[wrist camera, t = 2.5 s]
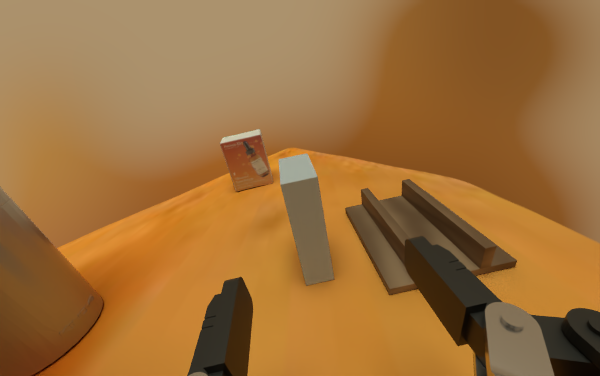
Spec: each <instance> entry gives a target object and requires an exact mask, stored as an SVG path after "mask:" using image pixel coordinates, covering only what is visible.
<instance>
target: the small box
mask: <svg viewBox="0 0 600 376" xmlns="http://www.w3.org/2000/svg"><path fill="white" fill-rule="evenodd" d="M220 146H221V149H222V152H223V155H224V157H225V161H226V164H227V167H228V169H229V172H230V175H231V178H232V181H233V184H234V187H235V190H236V192H237V191H241V190H244V189H249V188H253V187H257V186H262V185H267V184H272V183H273V179H272V174H271V170H270V166H269V162H268V158H267V154H266V150H265V146H264V142H263V139H262V135H261V131H260V129H258V130H255V131H250V132H246V133H242V134H238V135H233V136H228V137H223V139H222V141H221V143H220Z"/></svg>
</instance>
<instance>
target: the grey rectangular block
mask: <svg viewBox="0 0 600 376" xmlns="http://www.w3.org/2000/svg"><path fill="white" fill-rule="evenodd" d="M279 169H280V183H281V188H282V192H283V196H284V200H285V204H286V208H287V212H288V216H289V220H290V224H291V228H292V232H293V235H294V239H295V243H296V247H297V251H298V255H299V259H300V263H301V267H302V271H303V275H304V279H305V283H306V286H307V285H311V284H316V283H320V282H325V281H329V280H334V274H333V268H332V262H331V256H330V250H329V244H328V238H327V232H326V225H325V219H324V213H323V207H322V201H321V195H320V189H319V183H318V177H317V174H316V172H315V170H314V168H313V165H312V163H311V161H310V159H309V156H308V154H307V153H306V154H302V155H297V156H293V157H288V158H283V159H279Z"/></svg>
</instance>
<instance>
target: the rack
mask: <svg viewBox="0 0 600 376" xmlns="http://www.w3.org/2000/svg"><path fill="white" fill-rule="evenodd" d="M361 197H362V204H361V205H357V206H352V207H348V208H345V210H346V214H347V216H348V218H349V219H350V221H351V223H352V225H353V227H354V229H355V231H356V233H357V234H358V236H359V238H360V240H361V242H362V244H363V246H364V248H365V249H366V251H367V253H368V255H369V257H370V259H371V261H372V263H373V264H374V266H375V268H376V270H377V272H378V274H379V276H380V278H381V279H382V281H383V283H384V285H385V287H386V289H387V291H388V293H389V295H391V294H396V293H400V292H405V291H409V290H414V289H418V288H417V286H416V285H415V283H414V282H413V280H412V279H411V277H410V276H409V274H408V272H407V270H406V267H405V263H404V257H405V240H406V239H410V238H414V237H419V236H423V237H425V238H426V239H427V240H428V241H429V242H430V243H431V244H432V245H436V244H438V245H440V246H442V247H443V248H445V249H447V250H449V251H450V252H451V253H452V254H453V255H454V256H455V257H456V258H457V259H458V260H459V262H461V263H463V264H464V265H465V266H466V268H467V269H469V270H470V271H471V272H472V273H473V274H474V275H475V276H476V275H480V274H485V273H489V272H494V271H498V270H503V269H507V268H512V267H515V265H516V262H517V260H516V259H514V258H513V257H512V256H510V255H509V254H508V253H506V252H505V251H504V250H502V249H501V248H500V247H499V246H497V245H496V244H495V243H493V242H492V241H491V240H489V239H488V238H487V237H485V236H484V235H483V234H481V233H480V232H479V231H477V230H476V229H475V228H473V227H472V226H471V225H470V224H468V223H467V222H466V221H464V220H463V219H462V218H460V217H459V216H458V215H456V214H455V213H454V212H452V211H451V210H450V209H448V208H447V207H446V206H444V205H443V204H442V203H441V202H439V201H438V200H437V199H435V198H434V197H433V196H431V195H430V194H429V193H427V192H426V191H424V190H423V189H421V188H420V187H419V186H417V185H416V184H415V183H413V182H412V181H411V180H410V179H407V180H403V181H402V196H398V197H393V198H389V199H384V200H380V201H378V200H377V198H376V197H375V196H374V195H373V194H372V192H371V191H370V190H369V189H368V188H366V189H362V190H361Z"/></svg>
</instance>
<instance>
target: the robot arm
mask: <svg viewBox="0 0 600 376" xmlns="http://www.w3.org/2000/svg"><path fill="white" fill-rule="evenodd" d="M404 263H405V267H406V270H407V272H408V274H409V276H410V277H411V279H412V280H413V282H414V283H415V285H416V286H417V288H418V289H419V290H420V292H421V293H422V295H423V296H424V298H425V299H426V301H427V302H428V304H429V305H430V306H431V308H432V309H433V311H434V312H435V314H436V315H437V317H438V318H439V319H440V321H441V322H442V324H443V325H444V327H445V328H446V330H447V331H448V332H449V334H450V335H451V337H452V338H453V340H454V341H455V343H456V344H457V345H458V346H460V345H465V344H469V346H470V347H471V348H472V350H473V351H474V352H473V365H474V376H600V312H598V311H594V310H590V309H585V308H575V309H572V310H570V311H569V312H568V313H567V315H566V317H565V318H559V317H547V316H536V315H530V314H528V313H527V312H526V311H524V310H522V309H521V308H519V307H517V306H514V305H512V304H508V303H504V302H502V301H501V300H500V299H498V298H497V297H496V296H495V295H494V294H493V293H492V292H491V291H490V290H489V289H488V288H487V287H486V286H485V285H484V284H483V283H482V282H481V281H480V280H479V279H478V278H477V277H476V276H475V275H474V274H473V273H472V272H471V271H470V270H469V269H467V268H466V266H465V265H464V264H463V263H461V262H459V260H458V259H457V258H456V257H455V256H454V255H453V254H452V253H451V252H450V251H449V250H447V249H445V248H443V247H442V246H440V245H438V244H436V245H432V244H431V243H430V242H429V241H428V240H427V239H426V238H425V237H423V236H419V237H414V238H410V239H406V240H405V257H404ZM102 307H103V300H102V298H101V296H100V295H99V294H98V293H97V292H96V291H95V290H94V289H93V288H92V287H91V286H90V284H89V283H88V282H87V281H86V280H85V279H84V278H83V277H82V275H81V274H80V273H79V272H78V271H77V270H76V269H75V268H74V267H73V266H72V264H71V263H70V262H69V261H68V260H67V259H66V258H65V257H64V256H63V255H62V254H61V252H60V251H59V250H58V249H57V248H56V247H55V246H54V245H53V244H52V243H51V242H50V241H49V239H48V238H47V237H46V236H45V235H44V234H43V233H42V232H41V231H40V230H39V228H38V227H37V226H36V225H35V224H34V223H33V222H32V221H31V220H30V219H29V218H28V216H26V214H25V213H24V212H23V211H22V210H21V209H20V208H19V207H18V206H17V205H16V203H15V202H14V201H13V200H12V199H11V198H9V196H8V195H7V194H6V193H5V192H4V191H3V189H2V188H1V187H0V376H31V375H33V374H35V373H37V372H39V371H40V370H42V369H43V368H45V367H47V366H48V365H50V364H51V363H53V362H54V361H55V360H57V359H58V358H59V357H61V356H62V355H63V354H65V353H66V352H67V351H68V350H69V349H70V348H71V347H73V346H74V345H75V344H76V343H77V342H78V341H79V340H80V339H81V338H82V337H83V336H84V335H85V334H86V333H87V332H88V330H89V329H90V328H91V327H92V325H93V324H94V323H95V321H96V320H97V318H98V316H99V315H100V312H101V310H102ZM252 316H253V303H252V299H251V296H250V294H249V291H248V289H247V287H246V285H245V283H244V280H243V278H242V277H239V278H235V279H230V280H226V281H225V282H224V284H223V288H222V292H221V294H217V295H215V296H214V298H213V299H212V301H211V302H210V304H209V305H208V307H207V311H206V314H205V320H204V321H203V325H202V330H201V332H200V335H199V339H198V342H197V346H196V349H195V353H194V356H193V359H192V363H191V366H190V370H189V373H188V375H187V376H247V373H248V361H249V350H250V339H251V327H252Z"/></svg>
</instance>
